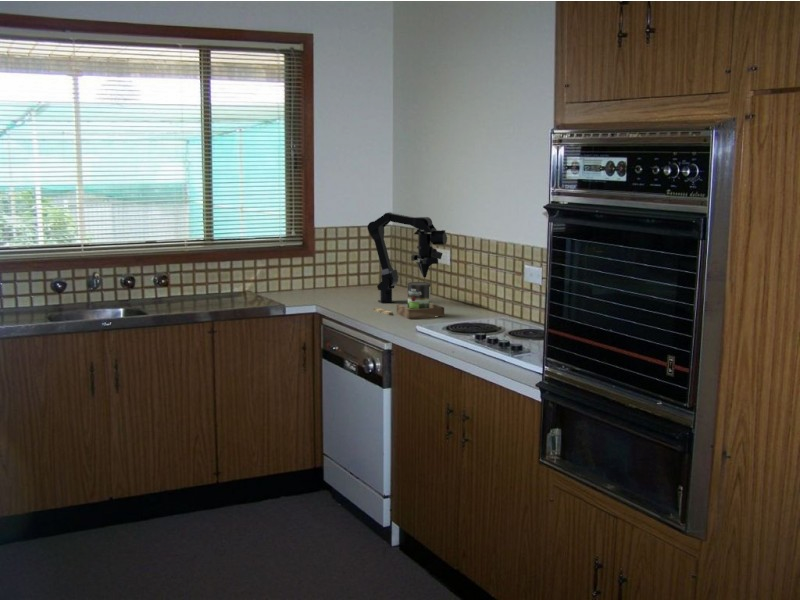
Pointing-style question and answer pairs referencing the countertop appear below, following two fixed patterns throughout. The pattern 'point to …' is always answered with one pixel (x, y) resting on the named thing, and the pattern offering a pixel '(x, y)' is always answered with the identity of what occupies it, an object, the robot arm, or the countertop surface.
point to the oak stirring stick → (383, 311)
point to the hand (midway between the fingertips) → (424, 277)
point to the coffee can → (418, 295)
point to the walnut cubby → (421, 311)
